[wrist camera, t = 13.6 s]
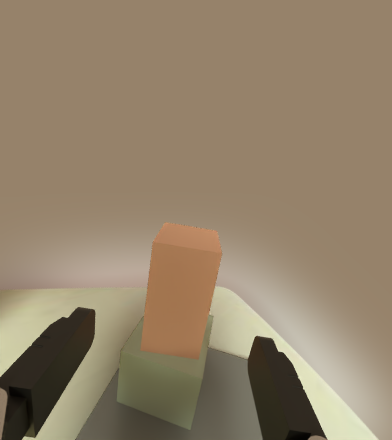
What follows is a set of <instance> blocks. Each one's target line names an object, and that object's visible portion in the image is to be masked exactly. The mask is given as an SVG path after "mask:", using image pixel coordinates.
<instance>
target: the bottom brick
mask: <svg viewBox="0 0 392 440" xmlns="http://www.w3.org/2000/svg"><path fill="white" fill-rule="evenodd" d="M212 321H213V316H211V315H208V320H207V324H206V329H205V333H204V338H203V342H202V347H201V351H200V356H199V360H197V359H191V358H185V357H178V356H172V355H165V354H159V353H152V352H146V351H140V349H141V340H142V331H143V323H144V316H143V317H142V319H141V321H140V322H139V324H138V325H137V327H136V328H135V330H134V331H133V333H132V334H131V336H130V337H129V339H128V340H127V342H126V343H125V345H124V346H123V348H122V350H121V354H120V366H119V378H118V390H117V402H119V403H122V404H124V405H127V406H130V407H132V408H135V409H137V410H140V411H142V412H145V413H147V414H150V415H153V416H155V417H158V418H160V419H163V420H165V421H168V422H170V423H173V424H176V425H178V426H181V427H183V428H186V429H188V430H191V425H192V421H193V417H194V413H195V409H196V404H197V400H198V396H199V392H200V387H201V383H202V379H203V373H204V367H205V362H206V356H207V350H208V344H209V338H210V333H211V327H212Z"/></svg>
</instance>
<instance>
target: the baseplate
mask: <svg viewBox="0 0 392 440" xmlns="http://www.w3.org/2000/svg"><path fill="white" fill-rule="evenodd" d="M118 378H119V368H118V370H117V372H116V373H115V375H114V377H113V378H112V380H111V382H110V383H109V385H108V387H107V388H106V390H105V391H104V393H103V395H102V396H101V398H100V400H99V401H98V403H97V405H96V406H95V408H94V410H93V411H92V413H91V415H90V416H89V418H88V419H87V421H86V423H85V424H84V426H83V428H82V429H81V431H80V433H79V434H78V436H77V438H76V439H75V440H263V438H262V434H261V430H260V425H259V421H258V416H257V412H256V407H255V403H254V398H253V394H252V389H251V385H250V380H249V376H248V360H246V359H243V358H240V357H237V356H233V355H230V354H227V353H224V352H221V351H218V350H215V349H212V348H208V350H207V356H206V362H205V367H204V373H203V379H202V383H201V387H200V392H199V396H198V400H197V404H196V409H195V413H194V417H193V421H192V425H191V430H188V429H186V428H183V427H181V426H178V425H176V424H173V423H170V422H168V421H165V420H163V419H160V418H158V417H155V416H153V415H150V414H147V413H145V412H142V411H140V410H137V409H135V408H132V407H130V406H127V405H124V404H122V403H119V402H117V390H118Z"/></svg>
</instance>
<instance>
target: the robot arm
mask: <svg viewBox="0 0 392 440" xmlns="http://www.w3.org/2000/svg"><path fill="white" fill-rule="evenodd" d="M94 334H95V310H94V309H88V308H81V307H78V308H76V309H75V310H74V312H73V313H72V314H71V315H70V316H69V317H68V318H65V317H62V318H60V319H59V320H57V321H56V322H54V323H52V324H51V325H49V327H48V328H47V329H46V330H45V331H44V332H43V333H42V334H41V335H40V337H38V338H37V339H36V340H35V341H34V342H33V343H32V345H31V346H30V347H29V348H28V349H27V350H26V351H25V352H24V353H23V354H22V355H21V356H20V357H19V358H18V359H17V360H16V361H15V362H14V363H13V364H12V365H11V366H10V368H9V369H8V370H7V371H6V372H5V373H4V374H3V375H2V376H1V377H0V440H22V439H23V437H24V436H26V437H33V438H35V437H36V436H37V434H38V432H39V431H40V429H41V427H42V426H43V424H44V422H45V421H46V419H47V418H48V416H49V414H50V413H51V411H52V409H53V408H54V406H55V405H56V403H57V401H58V400H59V398H60V396H61V395H62V393H63V391H64V390H65V388H66V387H67V385H68V383H69V382H70V380H71V378H72V377H73V375H74V373H75V372H76V370H77V369H78V367H79V365H80V364H81V362H82V360H83V359H84V357H85V355H86V354H87V352H88V351H89V349H90V347H91V345H92V342H93V339H94ZM248 376H249V380H250V385H251V389H252V394H253V398H254V403H255V407H256V412H257V416H258V421H259V425H260V430H261V434H262V438H263V440H327V438H326V436H325V434H324V432H323V430H322V428H321V425H320V423H319V421H318V419H317V417H316V414H315V412H314V410H313V408H312V406H311V403H310V401H309V399H308V397H307V395H306V393H305V390H303V386H302V384H301V382H300V379H298V375H297V373H296V371H295V368H294V366H293V364H292V363H291V361H290V360H289V359H288V358H287V357H286V355H285V354H284V353H283V352H278V350H277V348H276V345H275V343H274V341H273V339H272V338H266V337H260V336H256V337H255V339H254V342H253V345H252V348H251V351H250V355H249V358H248Z"/></svg>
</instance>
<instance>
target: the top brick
mask: <svg viewBox="0 0 392 440" xmlns="http://www.w3.org/2000/svg"><path fill="white" fill-rule="evenodd" d="M221 256H222V251H221V246H220V242H219V238H218V233H217V231H215V230H208V229H202V228H197V227H191V226H185V225H179V224H173V223H167V222H165V223H164V225H163V227H162V228H161V230H160V231H159V233H158V235H157V236H156V238H155V239H154V241H153V245H152V254H151V263H150V271H149V280H148V288H147V297H146V305H145V314H144V323H143V331H142V340H141V349H140V351H146V352H152V353H159V354H165V355H172V356H178V357H185V358H191V359H197V360H199V356H200V351H201V347H202V342H203V338H204V333H205V329H206V324H207V320H208V315H209V311H210V306H211V302H212V297H213V292H214V288H215V283H216V279H217V274H218V270H219V265H220V261H221Z"/></svg>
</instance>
